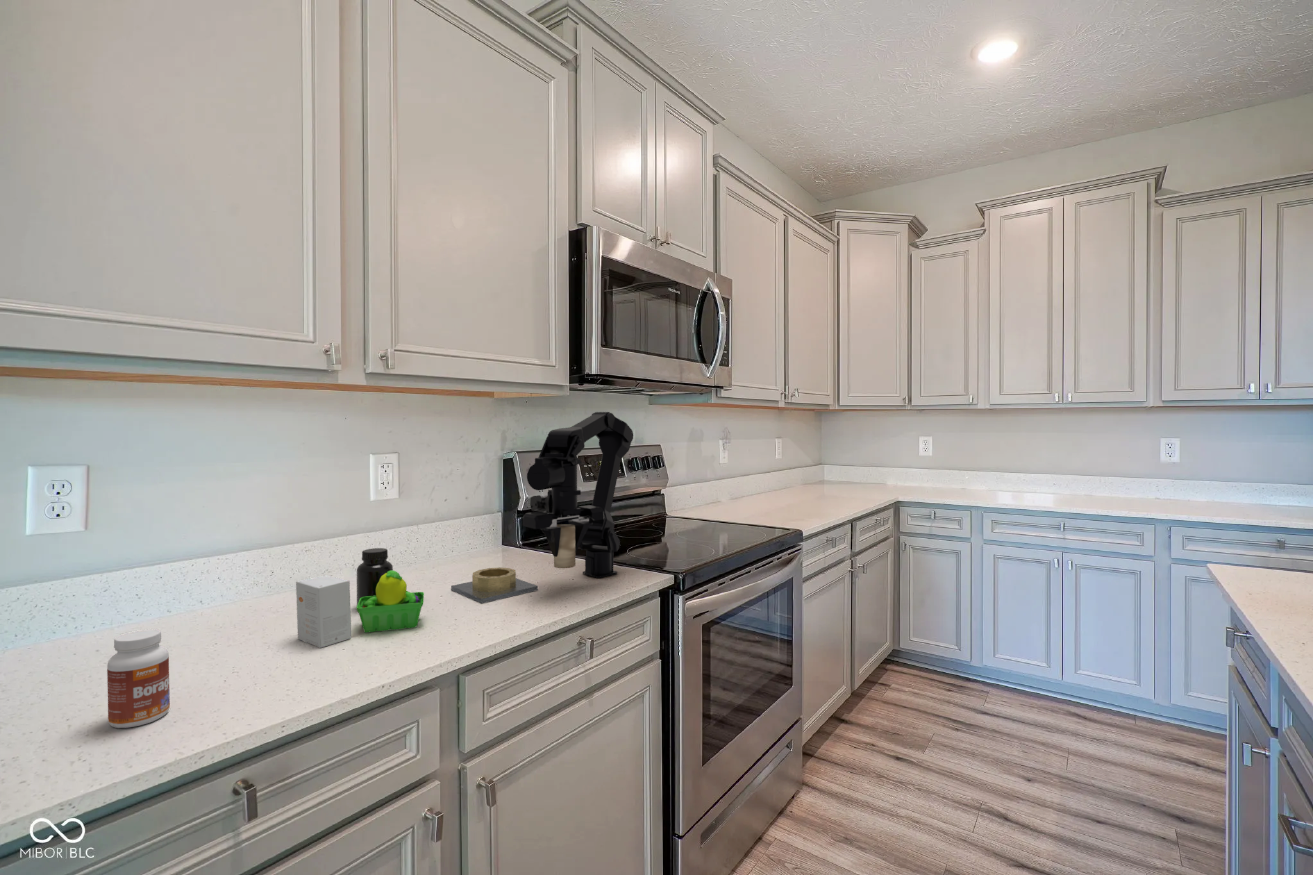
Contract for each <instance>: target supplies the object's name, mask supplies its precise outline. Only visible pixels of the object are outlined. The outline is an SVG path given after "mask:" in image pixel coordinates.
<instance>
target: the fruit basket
mask: <svg viewBox="0 0 1313 875" xmlns="http://www.w3.org/2000/svg"><path fill="white" fill-rule="evenodd" d="M407 584H408V583H407V581H405V579H404V578H403V576H401V575H400V572H398V571H397V570H394V569H393V570H392V571H388V572H387V573H385V574H384V575H382V576H381V578H380V580H379V582H378V584H377V586H376V596H367V597H362V598H360V600H359V603H358V605H357V604H356V607H355V608H356V611H357V613H358V615H359V619H360V623H361V625H362V629H363V632H364V633H374V632H382V631H383V632H385V631H392V630H403V629H413V628H415V629H416V628H417V627H418V622H419V618H420V616H421V610H422V607H423V606H424V600H425V598H424V596H425V592H424V591H415V592H414V591H413V592H410V591H408V590H407V586H408V585H407Z"/></svg>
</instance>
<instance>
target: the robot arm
mask: <svg viewBox="0 0 1313 875" xmlns="http://www.w3.org/2000/svg"><path fill="white" fill-rule="evenodd" d="M594 437H596V438H597V439H598V446H599V448H600V450H601V451H600V452H601V453H602V455H601V460H600V465H599V470H598V475H597V480H596V484H595V489H594V493H593V498H592V502H591V505H590V504H587V505H581V506H578V496H580V495H581V494H582V492H581V490H580V489H578V465H582V460H581V459H580V458H579V457H577V456H578V455H579V454H580V453H581V452H582V451H583V450H584V449H585V445H586V444H585V443H586V442H588V441H590V440H591V439H592V438H594ZM633 439H634V431H633V429H632V428H631V427H630V426H629V425H628V423H627V422H625V421H624V420H622V419H620V418H618V417H616V416H615V415H614V413H612V412H610V411H595V412H592V413H591V415H590V416H588V417H586V418H585V419H583V420H581V421H579V422H577V423H575V424H574V425H572V426H569V427H562V428H557V429H552V430H550V431H549V432H548V434H547V436H546V439H545V441H544V443H543V445H542V448H541V450H540V453H539V455H538V457H535V458H534V463H533V464H532V465H530V467H529V468H528V471H527V473H526V480H527V483H528V486H530V487H531V489H533V490H535V491H544V490H548V491H547V496H546V497H542V496H541V495H532V496H531V497H530V503H529V506H530V509H531V511H532V512H526V513H525V514H524V515H523V516H522V527H525V528H526V527H527V528H528V529H529V528H530V529H533V530H541V531H542V533H543V534H544V536H545V538H546V540H547V543H548V546H549V548H550V551H551V553H552V557H554V556H555V557H557V555H558V551H559V541H560V532H561V527H557V525H558V523H559V522H564V521H565V522H566V521H567V522H568V524H571V525H575V554H576V553H577V551H578V548H579V547H580V550H581V551H586V552H585V554H586V556H585V557H584V562H585V563H584V566H585V567H584V571H582V574H583V575H585V576H589V577H592V578H596V579H601V578H605V577H606V578H607V577H609V576H614V575H617V574H618V571H617V570H614V553H615V552H618V550H620V544H621V541H620V538H619V536H618V535H617V533H616V532H615V530H614V529H615V522H614V519H613V517H612V513H611V511H612V505H613V501H614V495H615V490H616V486H617V482H618V481H617V480H618V476H619V471H620V465H621V461H622V459H623V458H624V456H626V454H627V453H628V452H629V450H630V449H631V445H632V442H633Z"/></svg>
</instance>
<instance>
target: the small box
mask: <svg viewBox="0 0 1313 875" xmlns="http://www.w3.org/2000/svg"><path fill="white" fill-rule="evenodd" d="M350 582H351V581H350V580H347V579H343V578H341V577H337V576H332V575H328V574H325V575H319V576H314V577H311V578H305V579H301V580H297V581H295V588H296V589H295V592H296V593H295V594H296V619H297V622H296V623H297V626H296V628H297V639H298V640H300V641H302V642H305V643H307V644H310V645H313V646H315V647H318V648H319V649H321V648H325V647H327V646H330V645H334V644H337V643H340V642H344V641H346V640H349V639H351V638H352V620H351V619H352V618H351V617H352V615H351V613H352V612H351V590H350V588H351V587H350V584H351V583H350Z"/></svg>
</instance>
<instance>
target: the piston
mask: <svg viewBox="0 0 1313 875" xmlns="http://www.w3.org/2000/svg"><path fill="white" fill-rule="evenodd" d="M557 527H561V532H560V541H559V551H558V555H557V557H555V556H553V567H554V568H556V569H570V568H574V567H576V553H575V525H571V524H569V523H565V524H562V523H561V524H557Z"/></svg>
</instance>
